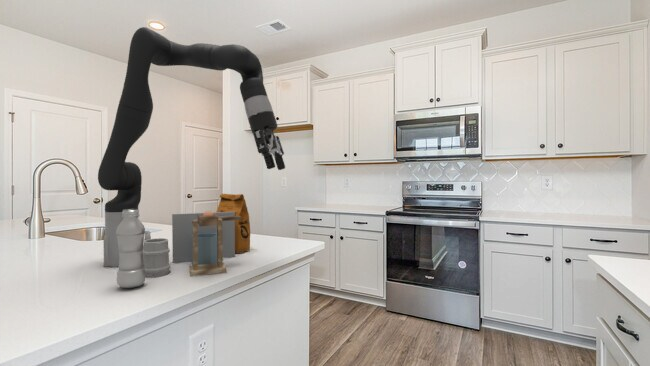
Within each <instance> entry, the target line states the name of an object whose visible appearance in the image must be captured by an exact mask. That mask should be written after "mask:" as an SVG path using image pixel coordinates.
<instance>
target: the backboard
mask: <svg viewBox="0 0 650 366" xmlns="http://www.w3.org/2000/svg"><path fill="white" fill-rule="evenodd" d="M204 213H205V212H195V213H193V212H192V213H190V212H189V213H172V214H171V217H172V218H171V219H172V221H171V223H172V225H171V226H172V229H171V231H172V232H171V235H172V239H171V240H172V244H171V247H172V263H174V264H175V263H184V262H186V261H187V262H191V236H192V235H193V224H192V221H193V220H197V221H198V214H200V216H201V217H203V214H204ZM212 213H215V215H216V216H218V217H223V216H235V212H217V211H215V212H212ZM201 233H217V226H199V223H198V234H201ZM235 256H236V253H235V220H228V221H223V259H226V258H227V259H228V258H235Z"/></svg>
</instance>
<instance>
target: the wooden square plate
mask: <svg viewBox="0 0 650 366" xmlns="http://www.w3.org/2000/svg"><path fill="white" fill-rule="evenodd" d="M212 213H213V212H212ZM213 214H214V216H209V217H201V216H200V214H198V223H199V226H217V225H218V218H221V219H222V220H223V221H228V220H241V216H223V217H218V216H216V215H215V213H213Z"/></svg>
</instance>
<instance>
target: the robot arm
mask: <svg viewBox="0 0 650 366" xmlns="http://www.w3.org/2000/svg"><path fill="white" fill-rule="evenodd" d="M129 44H130V45H129V51H128V60H127V67H126V73H125V78H124V82H123V87H122V91H121V95H120V98H119V101H118V106H117V110H116V113H115V119H114V124H113V127H112V131H111V135H110V138H109V141H108V144H107V146H106V148H105V152H104V154H103V157H102V160H101V162H100V165H99V166H98V167H99V168H98V173H97V180H98V184H99V186H100V188H102V189H103V190H105V191H117V193H116V196H115V197H114V198H112V199H110V200H108V201H107V202H106V203H105V204H104V229H105V231H104V235H103V267H104V268H105V267H108V268H109V267H110V268H111V267H112V268H114V267H115V268H116V267H118V268H119V245H118V240H117V234H116V231H117V227H118V226H119V224H120V223H121V222H122V221H123V219H124V217H122V215H123V210H125V209H139V206H140V203H141V200H142V199H141V198H142V184H143V183H142V181H143V178H142V177H143V176H142V171H141V169H140V167H139V165H138V164H136V163H134V162H130V161H128V162H127V161H126V159H127V155H128V153H129V152H130V150H131V148H132V147H133V146H134V144H135V143H136V142H137V141H138V140H139V139H140V138H141V137H142V136H143V135H144V134H145V133H146V131H147V129H148V128H149V125H150V122H151V118H152V115H153V110H154V102H153V97H152V93H151V89H150V84H149V75H150V68H151V64H152V65H155V66H159V67H171V66H173V67H174V66H184V67H185V66H188V67H196V68H202V69H208V70H215V71H226V70H227V69H229V70H232V71H235V72H237V73H238V74H240V77H241V79H242V81H241V82H240V85H239V90H240V95H241V99H242V102H243V104H244V109H245V110H244V111H245V114H246V116H247V120H248V124H249V127H250V131H251V133H252V135H253V138H254V142H255V145H256V148H257V149H256V150H257V152H258V154H261V156H262V157H263V159H264V162H265V163H264V164H265V166H266V169H267V170H272V169H275V167H277V169H278V171H281V170H284V169H286V164H285V162H284V158H283V156H284V154H285V152H284V150H283V146H282V143H281V140H280V137H279V135H277V136H276V135H275V134H274V131H275V130H276V129H277V128H278V122H277V120H276V116H275V113H274V109H273V106H272V104H271V102H270V99H269V97H268V93H267V91H266V87H265V85H264V75H263V68H262V65H261V62H260V59H259V58H258V56H257V55H256V54H255V53H254V52H252V51H251V50H250V49H249V48H247V47H245V46H244V45H241V44H234V43H233V44H231V43H230V44H223V45H219V44H218V45H217V44H211V43H204V42H200V43H199V42H197V43H194V44H190V45H186V44H180V43H177V42H175V41H171V40H169V39H168V38H167V37H165V36H164V35H162V34H160V33H159V32H156V31H154V30H153V29H151V28H149V27H147V26H142V27H139V28H138V29H136V31H134V33H133V35H132V37H131V40H130V43H129Z"/></svg>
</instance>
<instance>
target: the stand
mask: <svg viewBox="0 0 650 366" xmlns="http://www.w3.org/2000/svg"><path fill="white" fill-rule="evenodd" d="M192 224H193V266H192V265H189V276H190V277H195V276H203V275H204V276H205V275H211V274H220V273H221V274H222V273H227V266H226V265H225V262H224V261H223V259H224V258H223V220H222V219H221V218H218V225H217V263H212V264H203V265H198V221H197V220H193V221H192Z"/></svg>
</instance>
